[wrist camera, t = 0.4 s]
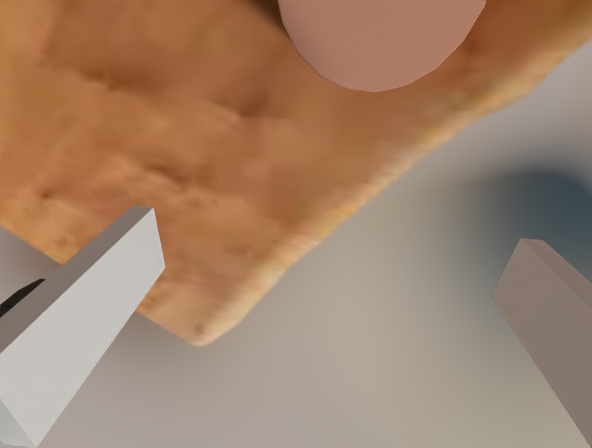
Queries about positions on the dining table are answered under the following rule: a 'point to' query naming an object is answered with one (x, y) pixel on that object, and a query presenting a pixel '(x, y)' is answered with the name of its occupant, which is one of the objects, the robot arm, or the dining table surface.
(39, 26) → the dining table surface
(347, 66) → the coffee jar
